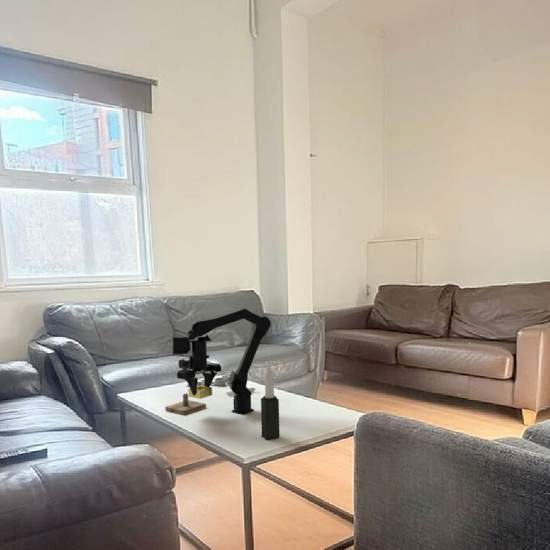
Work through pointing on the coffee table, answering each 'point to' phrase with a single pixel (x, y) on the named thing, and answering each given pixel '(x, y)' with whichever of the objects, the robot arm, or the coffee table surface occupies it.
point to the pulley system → (216, 381)
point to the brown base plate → (185, 406)
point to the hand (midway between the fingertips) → (200, 393)
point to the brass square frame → (201, 392)
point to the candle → (270, 408)
